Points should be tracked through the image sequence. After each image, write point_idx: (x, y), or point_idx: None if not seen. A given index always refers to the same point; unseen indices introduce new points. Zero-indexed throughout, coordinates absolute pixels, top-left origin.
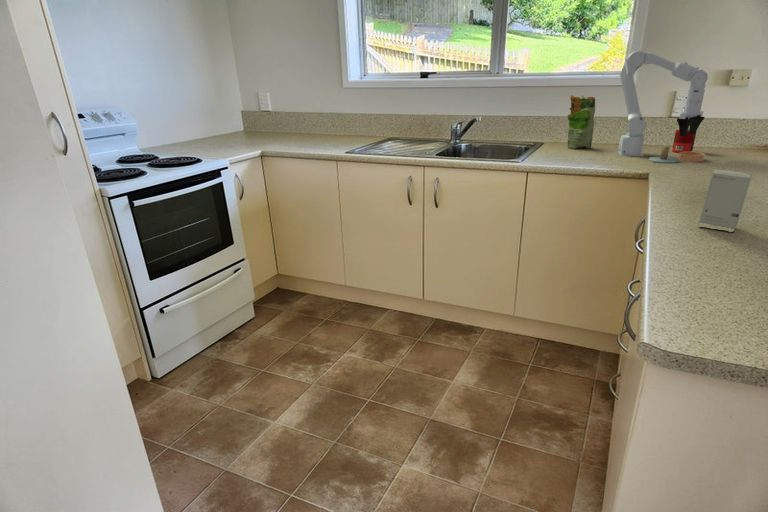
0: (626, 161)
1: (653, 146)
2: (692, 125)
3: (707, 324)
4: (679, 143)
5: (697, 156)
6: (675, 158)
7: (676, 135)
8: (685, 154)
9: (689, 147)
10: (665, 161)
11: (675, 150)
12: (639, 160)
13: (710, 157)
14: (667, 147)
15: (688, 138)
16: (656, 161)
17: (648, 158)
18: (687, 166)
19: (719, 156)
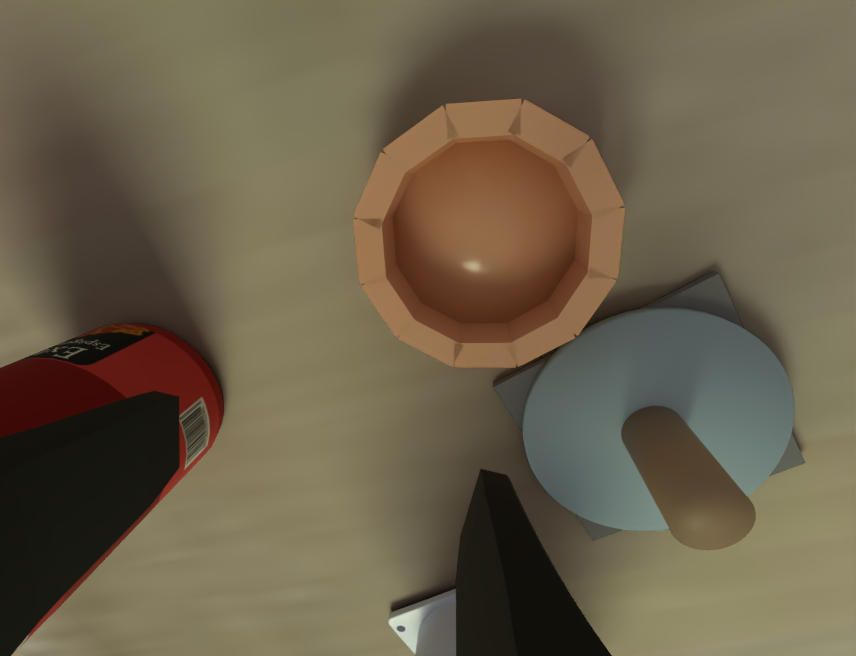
0: (768, 621)
1: None
2: (30, 575)
3: None
4: None
5: (596, 153)
6: (568, 357)
7: (94, 568)
8: (588, 291)
9: (139, 360)
10: (780, 393)
11: (211, 440)
12: (682, 563)
13: (198, 119)
14: (730, 502)
15: None
16: (777, 456)
17: (608, 531)
18: (829, 174)
19: (85, 55)
